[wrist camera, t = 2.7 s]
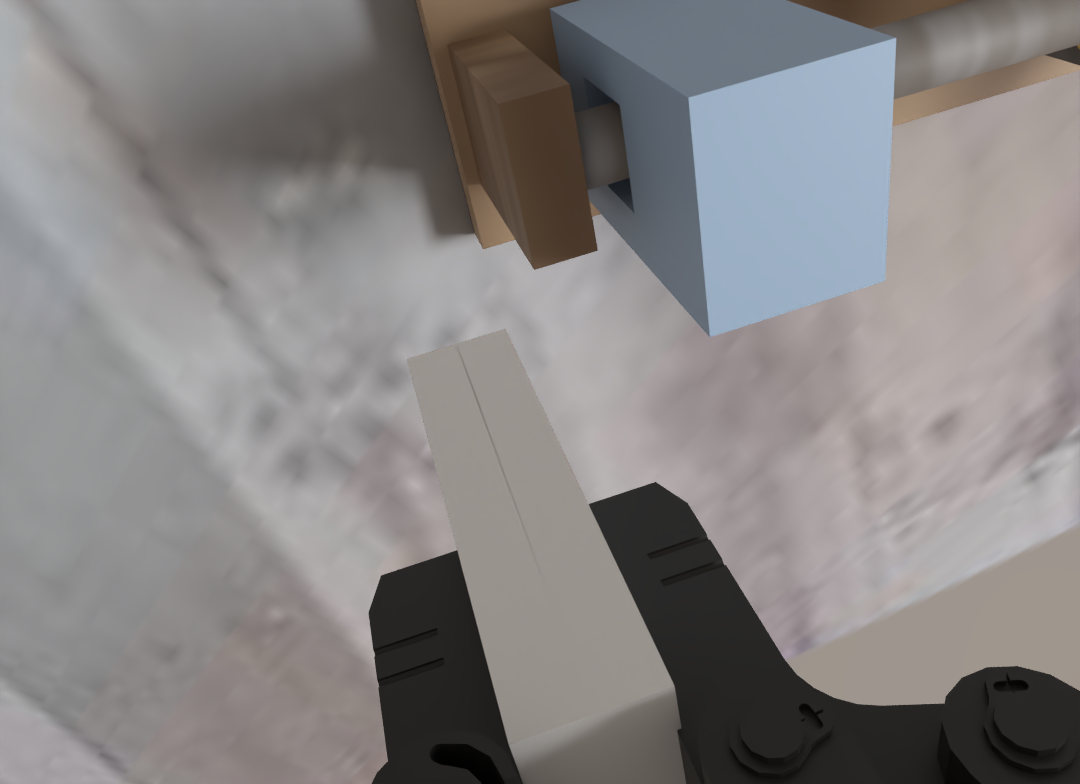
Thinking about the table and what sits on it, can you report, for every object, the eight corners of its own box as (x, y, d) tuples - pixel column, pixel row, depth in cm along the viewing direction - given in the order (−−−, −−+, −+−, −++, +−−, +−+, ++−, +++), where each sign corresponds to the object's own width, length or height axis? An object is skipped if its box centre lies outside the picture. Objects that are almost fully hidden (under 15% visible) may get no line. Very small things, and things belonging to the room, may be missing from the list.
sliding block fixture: (475, 234, 28) (569, 409, 20) (405, -39, 23) (490, 41, 15) (1085, 52, 30) (1397, 140, 22) (1133, -228, 26) (1551, -249, 17)
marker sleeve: (581, 190, 25) (709, 337, 18) (549, 8, 22) (688, 97, 15) (709, 152, 26) (885, 281, 19) (695, -31, 23) (896, 37, 16)
